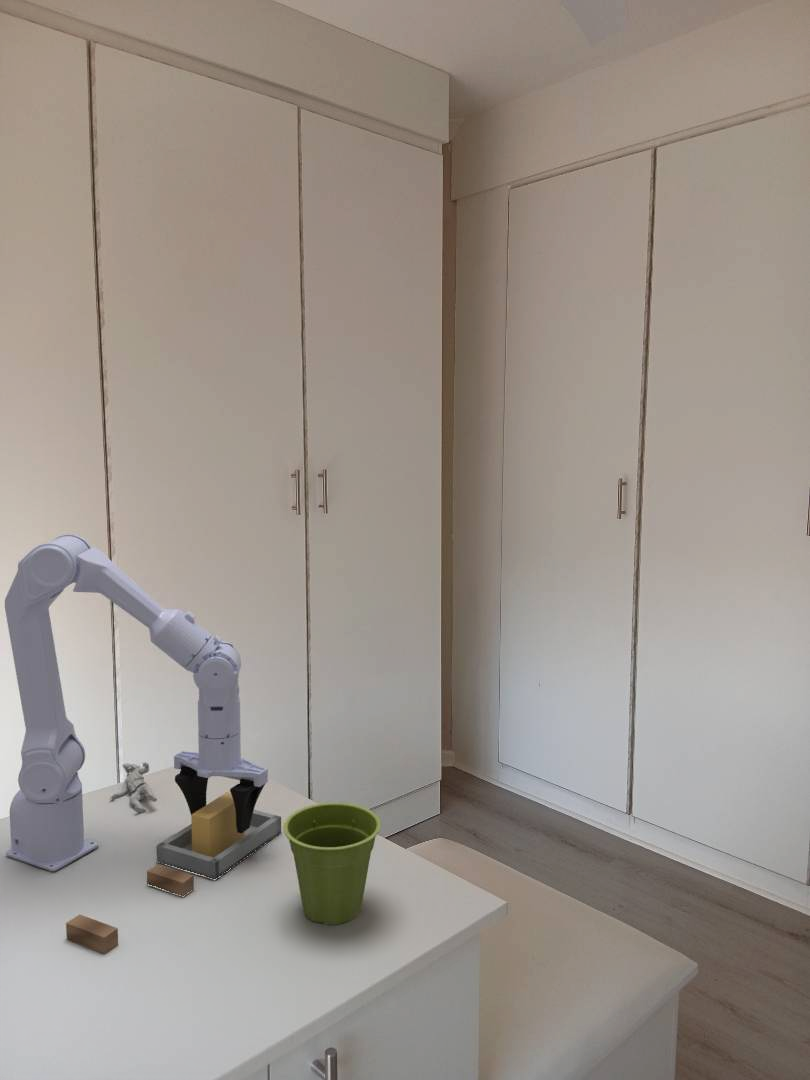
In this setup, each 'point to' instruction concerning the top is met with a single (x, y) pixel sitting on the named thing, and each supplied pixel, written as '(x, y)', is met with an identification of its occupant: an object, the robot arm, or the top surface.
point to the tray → (182, 856)
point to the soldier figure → (136, 786)
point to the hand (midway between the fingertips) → (220, 824)
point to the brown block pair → (107, 936)
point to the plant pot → (332, 857)
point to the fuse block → (215, 827)
